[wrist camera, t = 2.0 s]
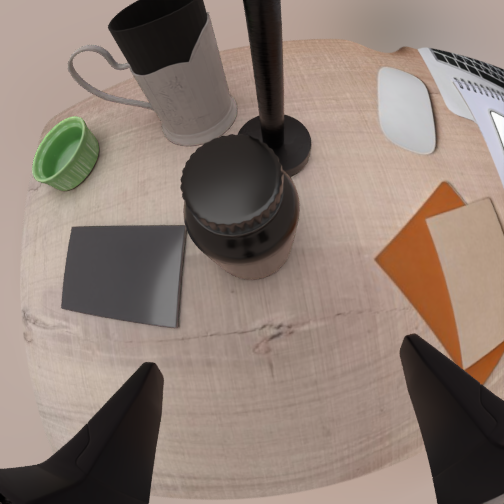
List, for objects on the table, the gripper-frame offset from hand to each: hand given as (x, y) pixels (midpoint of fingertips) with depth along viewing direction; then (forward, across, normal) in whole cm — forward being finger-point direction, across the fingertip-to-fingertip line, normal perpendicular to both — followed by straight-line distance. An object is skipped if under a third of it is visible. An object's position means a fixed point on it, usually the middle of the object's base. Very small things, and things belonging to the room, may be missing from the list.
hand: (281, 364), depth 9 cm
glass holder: (+26, +9, -8) cm, 28 cm away
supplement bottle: (+16, +2, +3) cm, 16 cm away
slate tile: (+14, +15, +4) cm, 21 cm away
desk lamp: (+21, -2, -4) cm, 22 cm away
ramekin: (+24, +23, -7) cm, 34 cm away
